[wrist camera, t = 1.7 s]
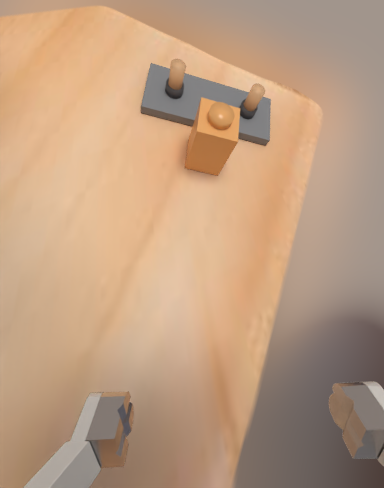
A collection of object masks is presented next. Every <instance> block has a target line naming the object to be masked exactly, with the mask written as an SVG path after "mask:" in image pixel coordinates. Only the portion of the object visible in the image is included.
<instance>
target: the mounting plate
mask: <svg viewBox="0 0 384 488" xmlns="http://www.w3.org/2000/svg"><path fill="white" fill-rule="evenodd" d="M185 68H186V65H185V63H184V62H183V61H182V60H180V59H174V60H172V61H171V67H170V69H169V68H166V67H162V66H159V65H156V64H152V63H151V64H150V69H149V73H148V78H147V82H146V87H145V91H144V96H143V100H142V105H141V113H144V114H147V115H151V116H155V117H159V118H163V119H166V120H170V121H174V122H178V123H182V124H185V125H189V126H193V123H194V120H195V117H196V113H197V110H198V107H199V103H200V100H201V97H202V98H206V99H209V100H213V101H216V102H223V103H226V104H228V105H230V106H234V107H237V108H240V119H239V134H238V138H239V139H243V140H246V141H250V142H254V143H258V144H262V145H265V146H266V144H267V143H268V142H269V140H270V101H271V99H268V98H265V97H263V95H264V93H265V89H264V87H263V86H262V85H260V84H254V85H253V86H252V88H251V90H250V92H245V91H242V90H239V89H235V88H232V87H229V86H225V85H222V84H219V83H215V82H212V81H209V80H205V79H202V78H199V77H195V76H192V75H189V74H185Z"/></svg>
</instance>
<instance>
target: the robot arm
mask: <svg viewBox="0 0 384 488" xmlns="http://www.w3.org/2000/svg"><path fill="white" fill-rule="evenodd" d="M332 389H333V391H334V393H333V394H332V395H331V396H330V398H329V407H330V412H331V414H332V417H333V419H334V421H335V423H336V424H337V425H338V426H339V427H340V428H341V429H343V436H342V437H343V439H344V441H345V443H346V445H347V447H348V449H349V451H350V453H351V455H352V457H353V459H378V461H379V462H380V463H381V464H382V465H383V466H384V390H383V388H382V387H381V386H380V385H379V384H378V383H377V382H373V381H372V382H348V383H336V384H334V385H333V388H332ZM129 401H130V394H129V392H99V393H90V394H89V396H88V397H87V399H86V402H85V404H84V407H83V409H82V412H81V414H80V417H79V419H78V422H77V425H76V427H75V430H74V432H73V435H72V437H71V440H70V441H68V442H65V443H64V444H63V445H62V446H61V447H60V449H59V450H58V451H57V452H56V453H55V454H54V455H53V456H52V457H51V458H50V459H49V460H48V461H47V463H46V464H45V465H44V466H43V467H42V468H41V469H40V470H39V471H38V472H37V473H36V474H35V475H34V476H33V478H32V479H31V480H30V481H29V482H28V483H27V484H26V485H25V486H24V487H23V488H89V487H90V486H91V484H92V483H93V481H94V480H95V478H96V477H97V475H98V474H99V472H100V471H101V468H107V467H122V466H124V464H125V459H126V454H127V450H128V445H129V444H128V441H127V438H126V437H127V436H128V434H129V433H130V432H131V430H132V424H133V414H134V412H133V405H132V403H131V402H129Z"/></svg>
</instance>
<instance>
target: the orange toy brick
mask: <svg viewBox="0 0 384 488" xmlns="http://www.w3.org/2000/svg"><path fill="white" fill-rule="evenodd" d="M239 119H240V108H237V107H234V106H230V105H228V104H226V103H223V102H216V101H213V100H209V99H206V98H202V97H201V100H200V103H199V107H198V110H197V113H196V117H195V120H194V123H193V127H192V130H191V133H190V137H189V141H188V148H187V155H186V162H185V168H187V169H191V170H196V171H200V172H204V173H209V174H213V175H217V176H218V174H219V173H220V171H221V169H222V168H223V166H224V164H225V163H226V161H227V159H228V158H229V156H230V154H231V153H232V151H233V149H234V148H235V146H236V144H237V143H238V134H239Z"/></svg>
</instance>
